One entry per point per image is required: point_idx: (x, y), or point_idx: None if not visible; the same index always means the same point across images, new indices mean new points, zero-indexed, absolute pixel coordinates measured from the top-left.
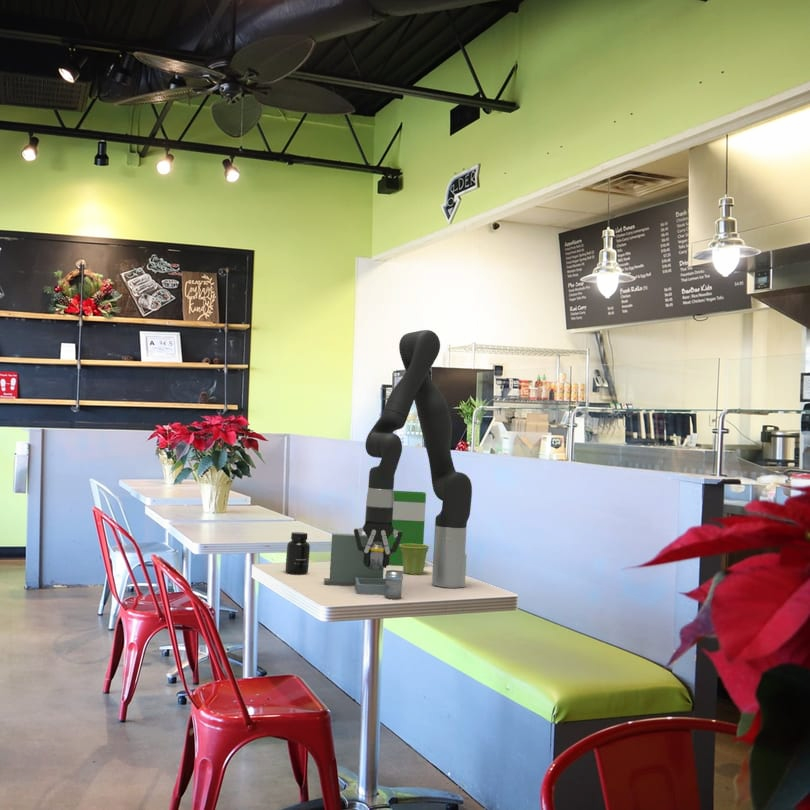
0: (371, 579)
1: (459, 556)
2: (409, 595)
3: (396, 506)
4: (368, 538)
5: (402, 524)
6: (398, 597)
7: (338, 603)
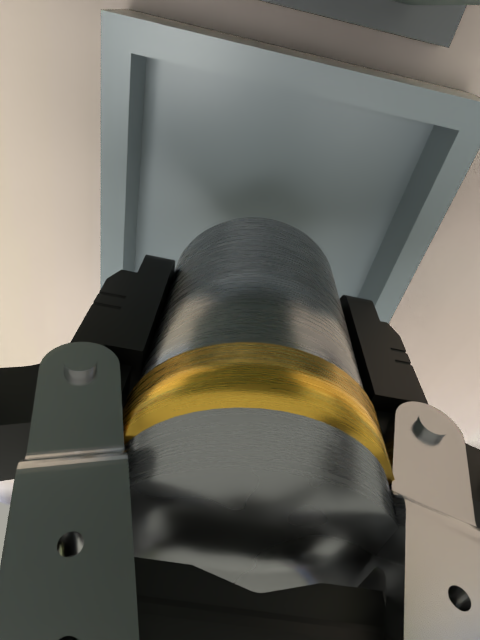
0: (266, 83)
1: None
2: (422, 347)
3: None
4: (21, 592)
5: None
6: None
7: None
